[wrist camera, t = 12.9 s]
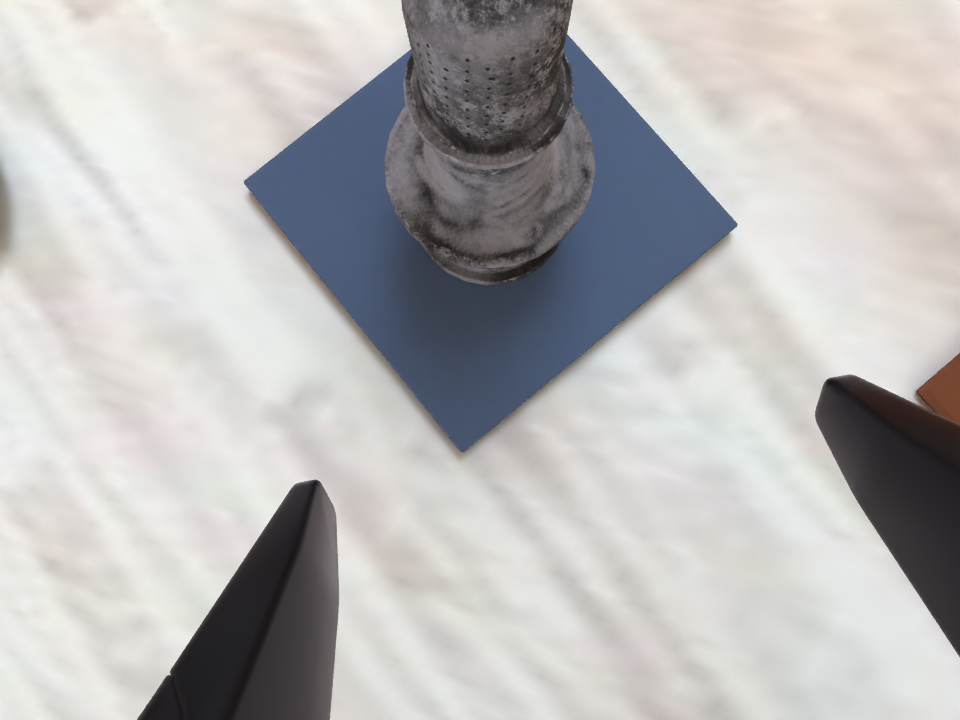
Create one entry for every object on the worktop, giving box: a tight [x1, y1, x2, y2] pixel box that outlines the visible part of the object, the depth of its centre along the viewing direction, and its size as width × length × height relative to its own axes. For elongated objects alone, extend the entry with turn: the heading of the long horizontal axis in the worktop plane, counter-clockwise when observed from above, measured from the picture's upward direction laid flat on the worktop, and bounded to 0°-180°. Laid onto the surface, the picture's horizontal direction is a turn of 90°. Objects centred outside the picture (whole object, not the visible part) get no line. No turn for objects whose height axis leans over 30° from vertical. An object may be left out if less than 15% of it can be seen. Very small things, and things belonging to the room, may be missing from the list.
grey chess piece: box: [384, 0, 596, 285], centre depth 14 cm, size 6×6×12 cm
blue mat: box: [244, 35, 737, 452], centre depth 20 cm, size 12×12×1 cm
